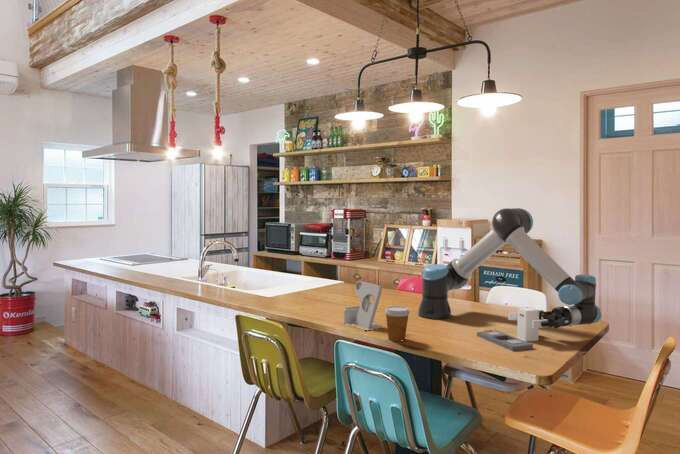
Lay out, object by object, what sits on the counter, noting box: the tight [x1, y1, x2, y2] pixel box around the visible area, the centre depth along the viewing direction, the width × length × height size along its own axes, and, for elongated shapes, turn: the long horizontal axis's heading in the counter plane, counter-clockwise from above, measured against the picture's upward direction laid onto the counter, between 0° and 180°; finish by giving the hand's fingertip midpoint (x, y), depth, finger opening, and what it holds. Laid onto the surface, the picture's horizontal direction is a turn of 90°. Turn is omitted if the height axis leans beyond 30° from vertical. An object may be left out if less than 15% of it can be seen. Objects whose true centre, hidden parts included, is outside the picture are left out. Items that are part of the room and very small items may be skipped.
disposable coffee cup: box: [384, 305, 411, 342], centre depth 186 cm, size 10×10×12 cm
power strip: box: [476, 328, 534, 352], centre depth 179 cm, size 20×9×4 cm, turn 20°
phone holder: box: [341, 280, 384, 331], centre depth 207 cm, size 17×10×18 cm, turn 35°
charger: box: [516, 307, 540, 342], centre depth 183 cm, size 4×6×13 cm
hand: (520, 320), depth 181 cm, fingers open, 12 cm apart
